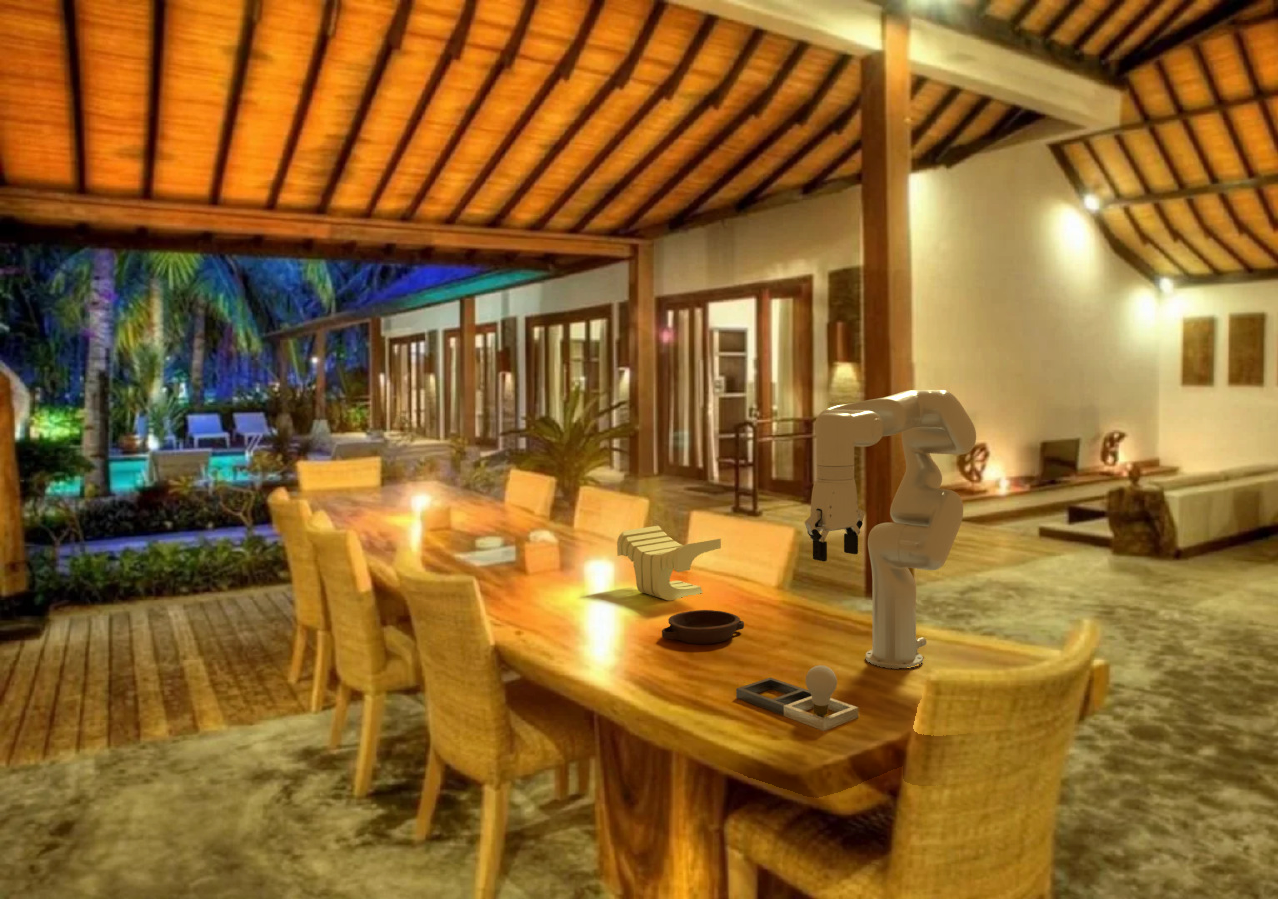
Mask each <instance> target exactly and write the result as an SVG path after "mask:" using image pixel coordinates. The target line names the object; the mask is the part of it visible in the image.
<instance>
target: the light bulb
mask: <svg viewBox="0 0 1278 899" xmlns="http://www.w3.org/2000/svg"><path fill="white" fill-rule="evenodd" d="M837 685H838V678H837V676H836V674H835V672H834V671H833V669H831V668H830V667H829V666H826V665H823V664H822V665H821V664H818V665H815V666H813V667H811V668H810V669H809V670H808V672H807V674H806V676H805V686H806V688H807V690H809V692H810V693H811V696H812V700H813V702H814V708H813V714H814V715H817V716H820V717H822V718H824V717H826V715H828V713H829V712H828V710H829V709H828V703H829V701H830V698H832V696H833V693H834V692H835V691H836V689H837Z"/></svg>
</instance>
